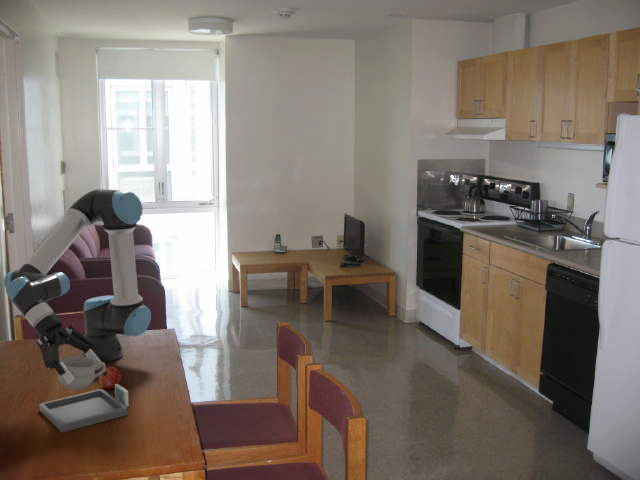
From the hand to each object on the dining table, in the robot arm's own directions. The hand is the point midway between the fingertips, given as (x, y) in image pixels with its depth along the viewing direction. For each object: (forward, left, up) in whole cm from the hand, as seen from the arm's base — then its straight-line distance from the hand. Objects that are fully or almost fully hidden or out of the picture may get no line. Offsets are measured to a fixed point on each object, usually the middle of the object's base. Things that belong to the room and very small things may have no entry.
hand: (86, 374), depth 210 cm
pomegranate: (-14, -17, -13) cm, 26 cm away
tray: (+1, -2, -13) cm, 13 cm away
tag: (-12, -2, -13) cm, 18 cm away
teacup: (+1, -2, -4) cm, 5 cm away
